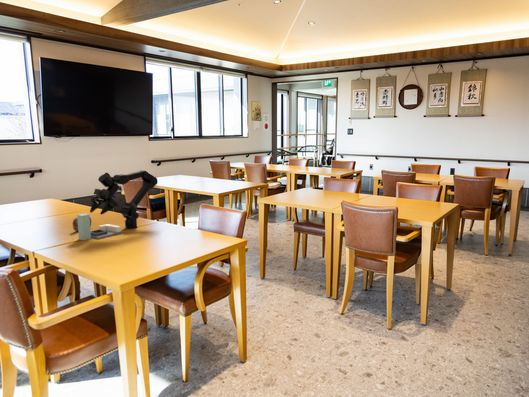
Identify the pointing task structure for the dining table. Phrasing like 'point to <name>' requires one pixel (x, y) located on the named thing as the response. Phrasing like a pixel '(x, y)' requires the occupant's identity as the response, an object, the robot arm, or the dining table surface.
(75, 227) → the tin
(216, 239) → the dining table surface
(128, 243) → the dining table surface
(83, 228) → the post
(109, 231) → the baseplate
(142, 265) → the dining table surface
